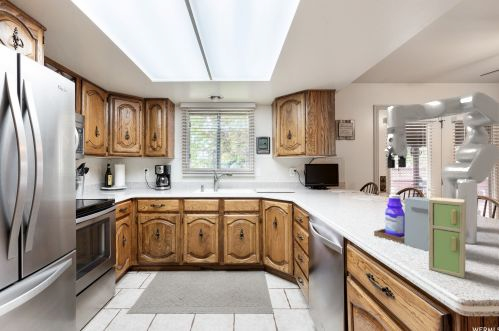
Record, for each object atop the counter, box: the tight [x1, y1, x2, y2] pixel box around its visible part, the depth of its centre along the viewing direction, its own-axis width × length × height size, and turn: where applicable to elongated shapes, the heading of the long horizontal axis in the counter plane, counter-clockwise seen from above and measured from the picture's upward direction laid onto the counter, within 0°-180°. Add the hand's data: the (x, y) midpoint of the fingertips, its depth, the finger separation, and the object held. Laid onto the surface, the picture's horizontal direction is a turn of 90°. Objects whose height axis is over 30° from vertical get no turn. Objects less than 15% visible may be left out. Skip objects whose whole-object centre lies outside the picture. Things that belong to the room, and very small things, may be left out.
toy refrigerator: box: [428, 196, 466, 279], centre depth 69 cm, size 8×7×21 cm
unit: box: [404, 196, 431, 252], centre depth 87 cm, size 9×12×18 cm
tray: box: [373, 228, 405, 244], centre depth 99 cm, size 10×11×2 cm
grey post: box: [455, 179, 479, 245], centre depth 94 cm, size 6×6×25 cm
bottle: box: [384, 194, 405, 237], centre depth 100 cm, size 7×6×17 cm
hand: (396, 167), depth 112 cm, fingers open, 9 cm apart
